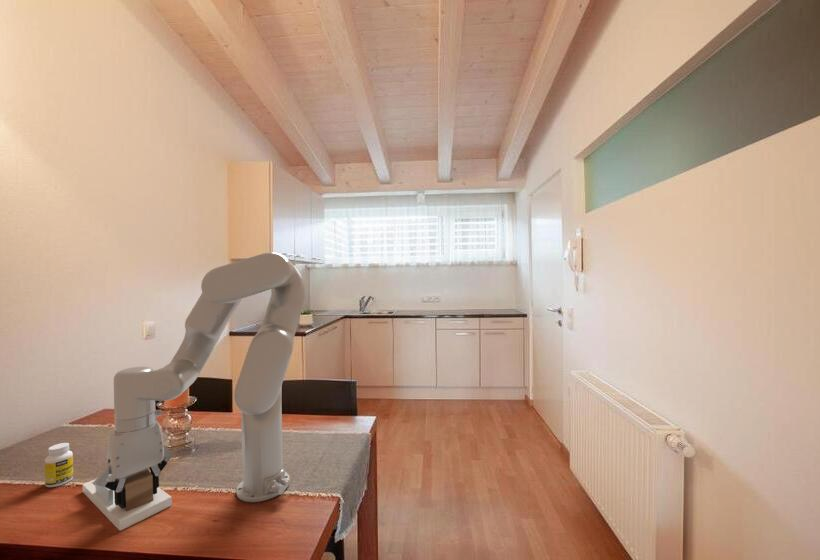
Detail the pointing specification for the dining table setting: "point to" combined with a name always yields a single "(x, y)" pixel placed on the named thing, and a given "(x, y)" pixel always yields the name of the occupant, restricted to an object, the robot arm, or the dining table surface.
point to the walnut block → (138, 489)
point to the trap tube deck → (119, 516)
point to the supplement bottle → (58, 465)
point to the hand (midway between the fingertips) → (137, 498)
